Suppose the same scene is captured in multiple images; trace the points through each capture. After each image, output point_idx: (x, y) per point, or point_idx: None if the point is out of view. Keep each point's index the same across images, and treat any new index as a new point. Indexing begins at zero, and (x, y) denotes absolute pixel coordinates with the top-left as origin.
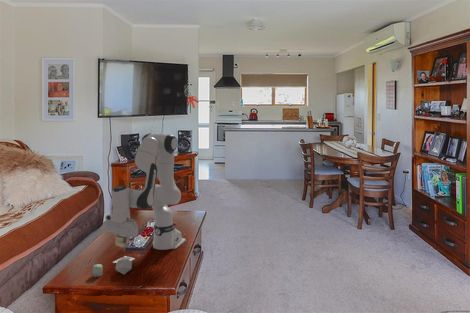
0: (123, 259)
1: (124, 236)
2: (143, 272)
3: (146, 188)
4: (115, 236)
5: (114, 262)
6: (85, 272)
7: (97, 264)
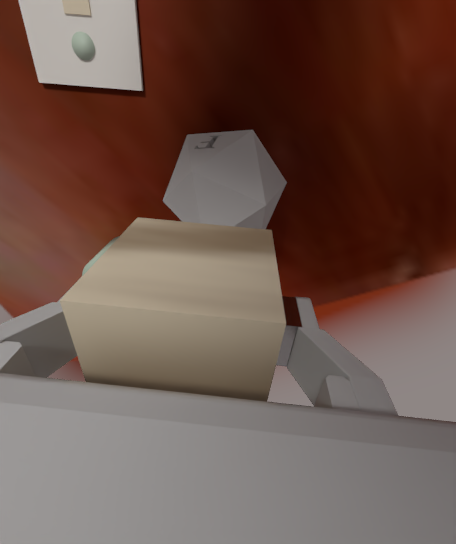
0: (229, 219)
1: (235, 388)
2: (351, 126)
3: None
4: (53, 369)
5: (56, 80)
6: (54, 256)
7: (89, 267)
